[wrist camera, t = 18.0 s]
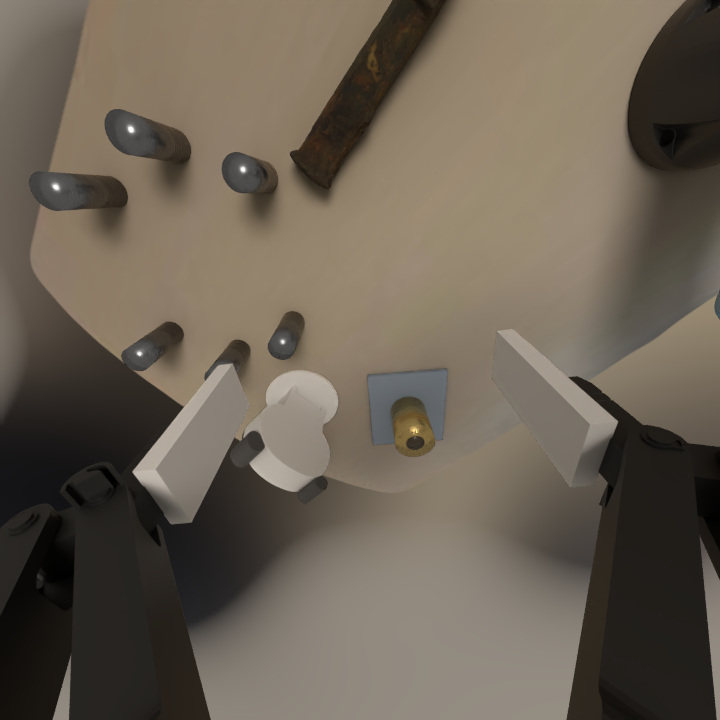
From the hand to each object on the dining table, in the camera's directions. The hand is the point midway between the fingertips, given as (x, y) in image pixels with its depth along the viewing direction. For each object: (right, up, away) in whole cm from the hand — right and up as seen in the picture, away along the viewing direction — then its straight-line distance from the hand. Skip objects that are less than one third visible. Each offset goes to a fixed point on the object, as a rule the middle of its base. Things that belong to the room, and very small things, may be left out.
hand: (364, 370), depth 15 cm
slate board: (+7, -7, +34) cm, 35 cm away
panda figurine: (-10, -6, +33) cm, 34 cm away
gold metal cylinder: (+8, -8, +33) cm, 35 cm away
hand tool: (+1, +29, +14) cm, 32 cm away
